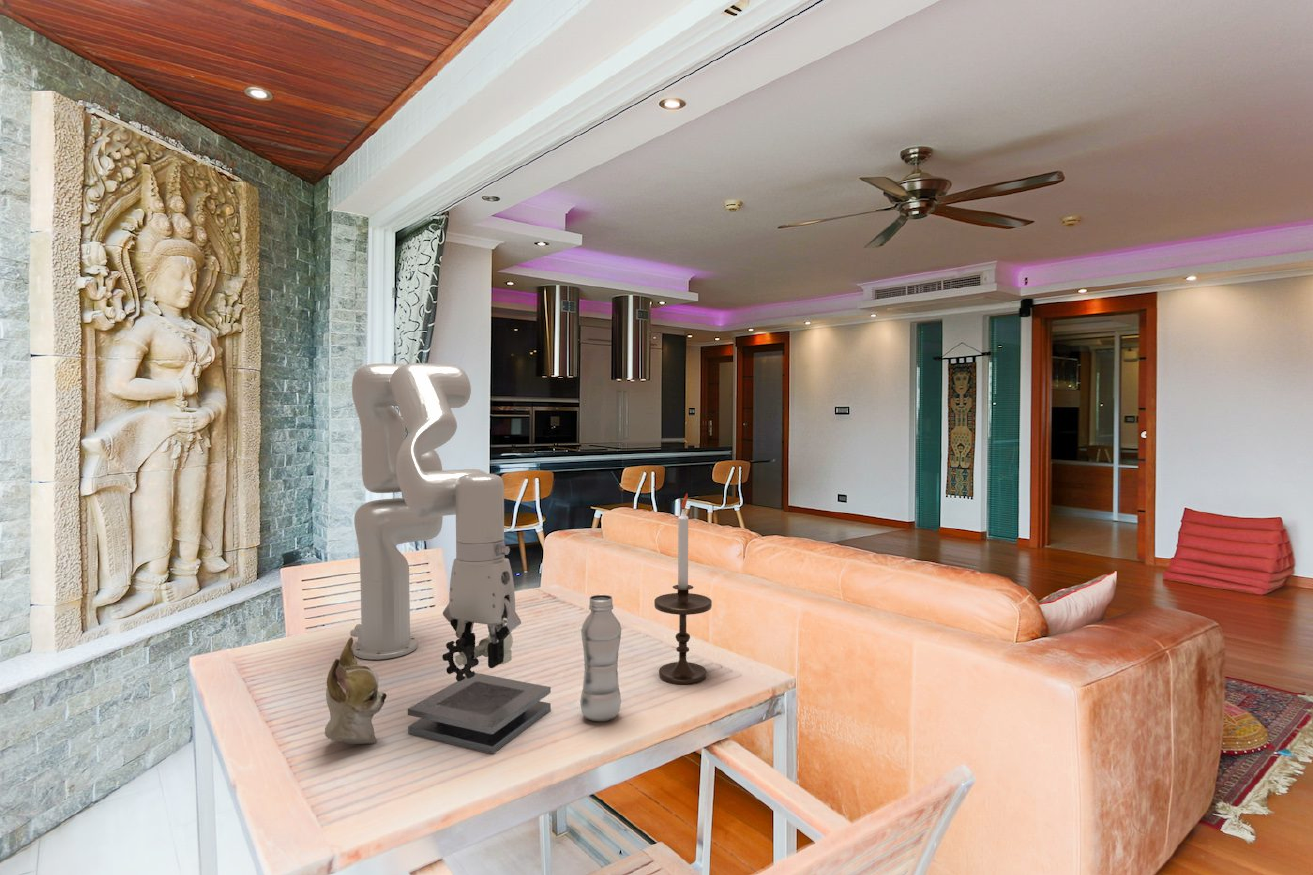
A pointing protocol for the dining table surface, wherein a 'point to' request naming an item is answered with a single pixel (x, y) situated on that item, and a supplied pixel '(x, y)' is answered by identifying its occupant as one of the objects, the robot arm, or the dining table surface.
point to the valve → (472, 655)
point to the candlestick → (682, 613)
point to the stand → (480, 712)
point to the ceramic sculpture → (352, 700)
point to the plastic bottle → (600, 661)
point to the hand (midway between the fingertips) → (481, 661)
